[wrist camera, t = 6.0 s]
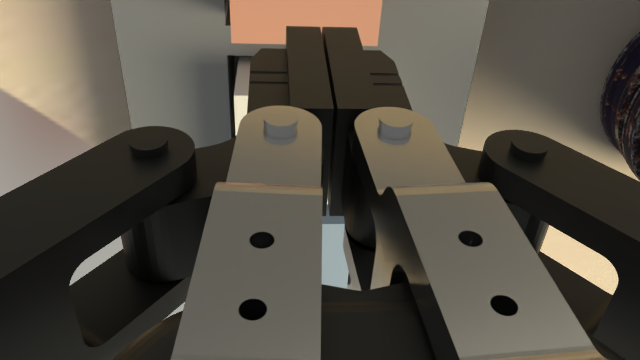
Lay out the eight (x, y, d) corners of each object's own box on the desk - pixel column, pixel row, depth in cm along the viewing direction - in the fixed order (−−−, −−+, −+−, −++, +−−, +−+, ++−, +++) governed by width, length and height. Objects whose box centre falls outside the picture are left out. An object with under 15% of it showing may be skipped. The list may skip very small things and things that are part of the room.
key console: (491, -187, 22) (527, -175, 19) (411, 247, 35) (424, 298, 32) (108, -206, 21) (78, -196, 18) (171, 248, 34) (160, 301, 31)
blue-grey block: (346, 178, 30) (353, 224, 27) (339, 251, 32) (345, 300, 30) (245, 177, 29) (241, 224, 26) (247, 252, 32) (244, 301, 29)
